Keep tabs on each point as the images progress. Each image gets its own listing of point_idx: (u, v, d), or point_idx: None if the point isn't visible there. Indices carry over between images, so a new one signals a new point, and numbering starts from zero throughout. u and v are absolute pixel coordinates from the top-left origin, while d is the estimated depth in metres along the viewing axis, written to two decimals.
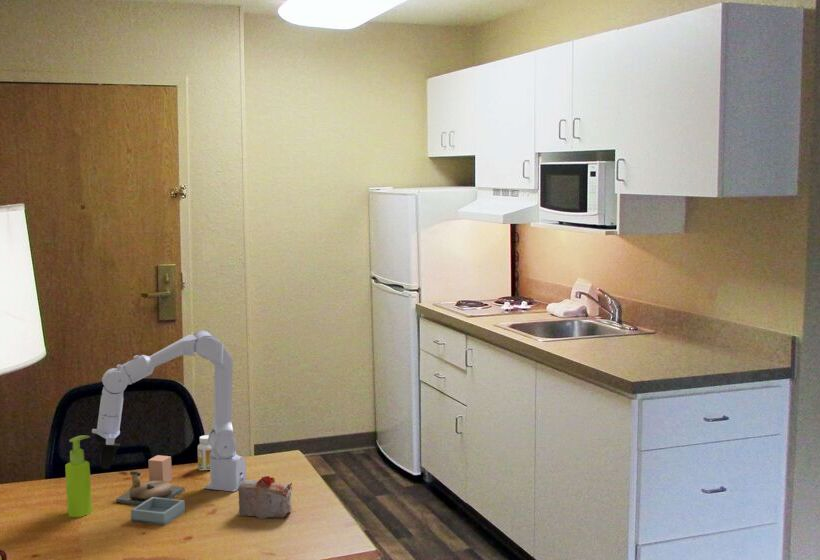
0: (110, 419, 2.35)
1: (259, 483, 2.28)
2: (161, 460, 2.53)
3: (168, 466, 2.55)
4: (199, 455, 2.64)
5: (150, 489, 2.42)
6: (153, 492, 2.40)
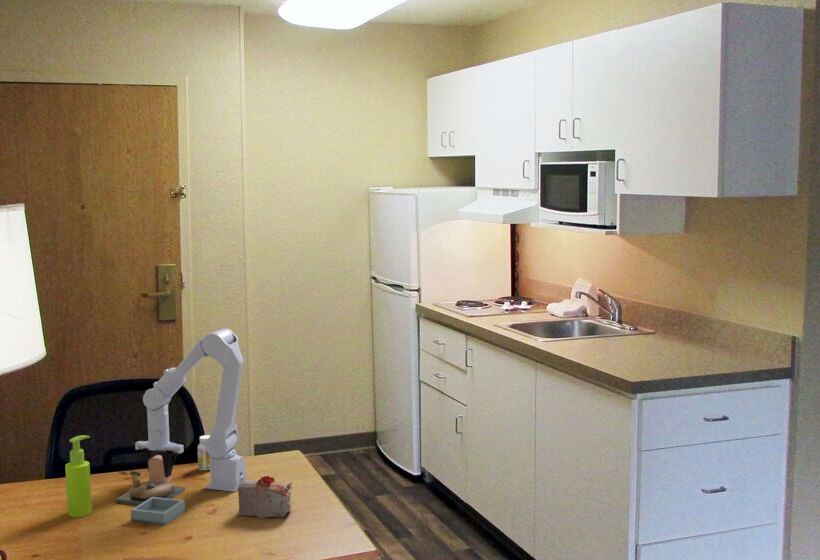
0: (167, 432, 2.53)
1: (259, 483, 2.29)
2: (161, 460, 2.53)
3: None
4: (199, 455, 2.64)
5: (150, 489, 2.42)
6: (153, 492, 2.40)
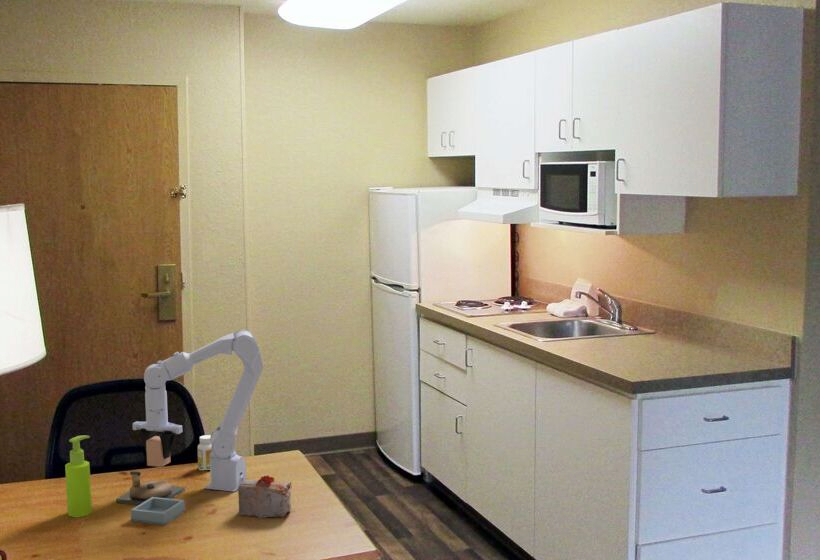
0: (165, 412, 2.44)
1: (259, 483, 2.29)
2: (159, 441, 2.44)
3: None
4: (199, 455, 2.64)
5: (150, 489, 2.42)
6: (153, 492, 2.40)
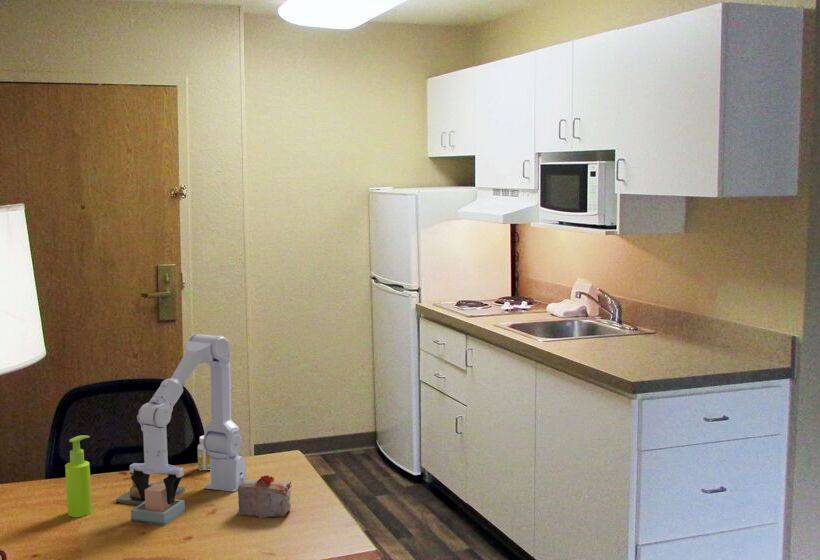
0: (165, 453, 2.27)
1: (259, 482, 2.29)
2: (159, 490, 2.27)
3: None
4: (199, 455, 2.64)
5: None
6: None
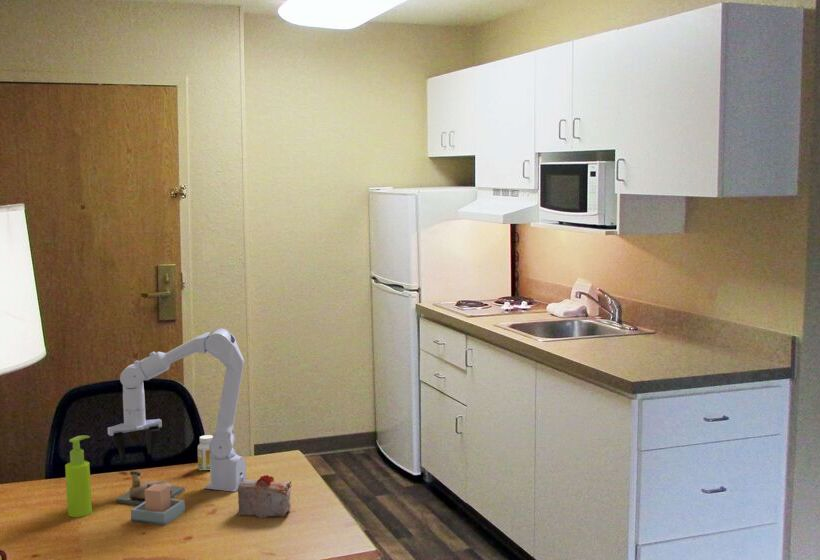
0: None
1: (259, 482, 2.29)
2: (159, 490, 2.27)
3: (167, 496, 2.29)
4: (199, 455, 2.64)
5: None
6: None
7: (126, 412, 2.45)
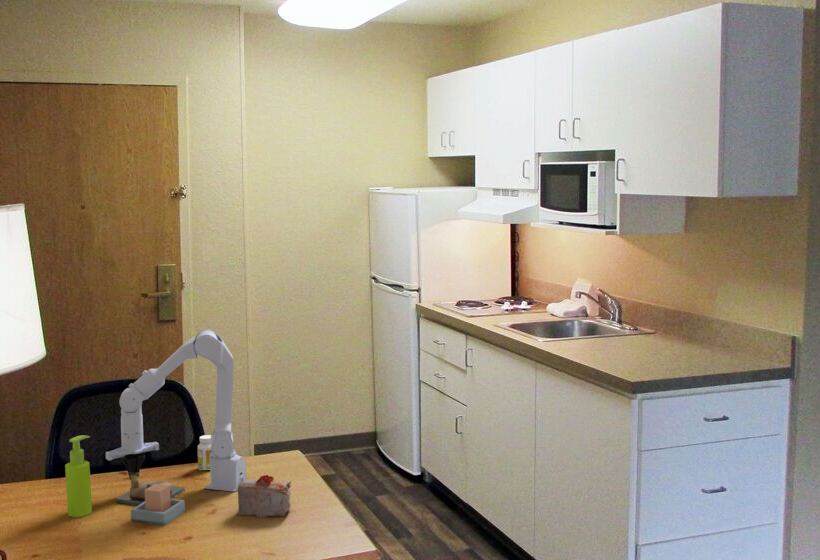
0: None
1: (258, 482, 2.29)
2: (159, 490, 2.27)
3: (167, 496, 2.29)
4: (199, 455, 2.64)
5: None
6: None
7: (125, 436, 2.42)
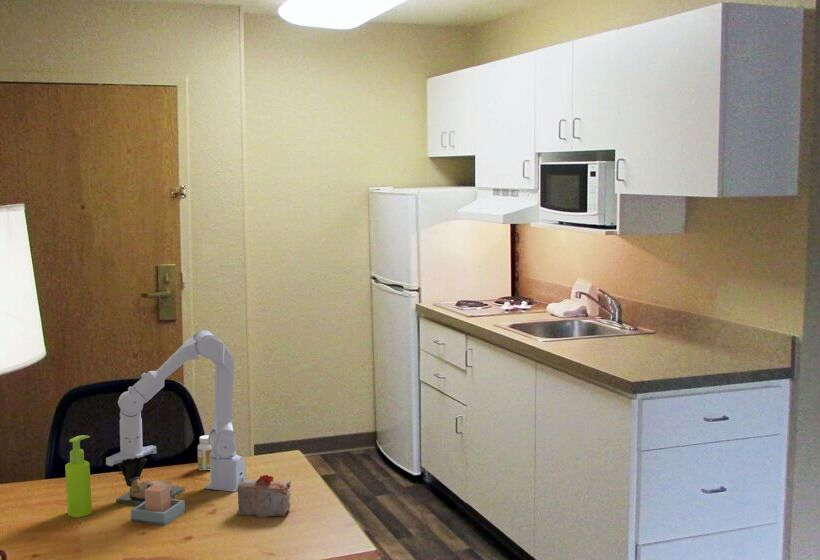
0: None
1: (258, 482, 2.29)
2: (159, 490, 2.27)
3: (167, 496, 2.29)
4: (199, 455, 2.64)
5: None
6: None
7: (125, 440, 2.38)
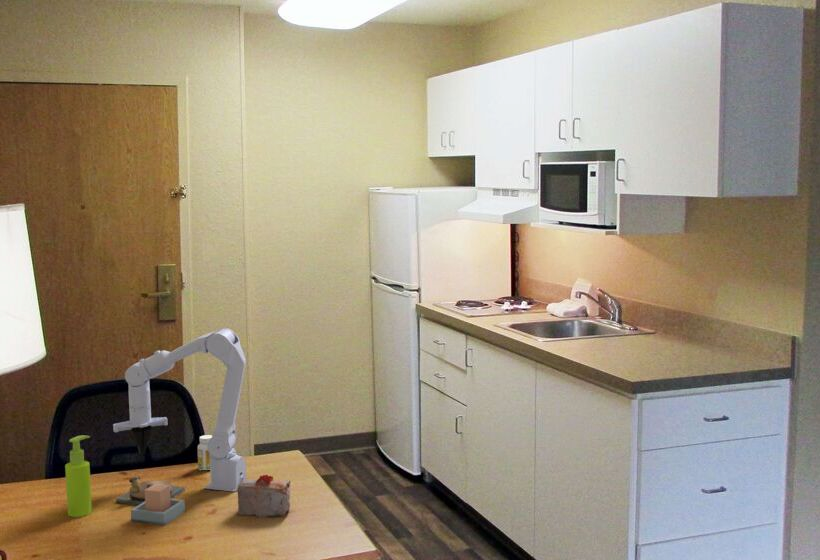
0: None
1: (258, 482, 2.29)
2: (159, 490, 2.27)
3: (167, 496, 2.29)
4: (199, 455, 2.64)
5: None
6: None
7: (131, 409, 2.48)
